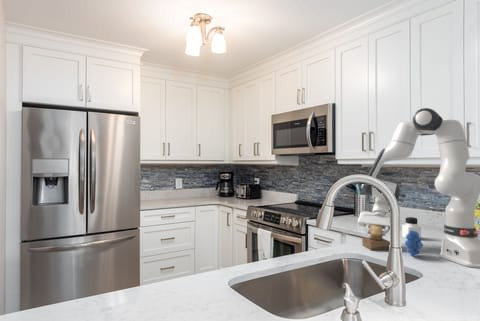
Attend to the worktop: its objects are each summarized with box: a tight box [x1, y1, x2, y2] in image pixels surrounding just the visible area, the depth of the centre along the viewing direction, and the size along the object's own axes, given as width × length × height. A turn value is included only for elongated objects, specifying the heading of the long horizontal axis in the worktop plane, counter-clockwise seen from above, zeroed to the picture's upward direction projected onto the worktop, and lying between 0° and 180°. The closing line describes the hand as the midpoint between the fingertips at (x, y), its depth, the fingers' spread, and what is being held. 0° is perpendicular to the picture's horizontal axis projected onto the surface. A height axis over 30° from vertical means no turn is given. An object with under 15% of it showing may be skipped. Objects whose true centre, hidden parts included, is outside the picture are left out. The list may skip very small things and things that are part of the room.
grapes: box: [404, 230, 424, 257], centre depth 144 cm, size 12×7×12 cm, turn 125°
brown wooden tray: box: [361, 237, 391, 252], centre depth 159 cm, size 10×10×4 cm
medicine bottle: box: [401, 216, 422, 240], centre depth 182 cm, size 7×7×12 cm
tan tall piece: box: [369, 225, 383, 241], centre depth 159 cm, size 6×6×11 cm
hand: (375, 234), depth 158 cm, fingers closed on tan tall piece, 6 cm apart
